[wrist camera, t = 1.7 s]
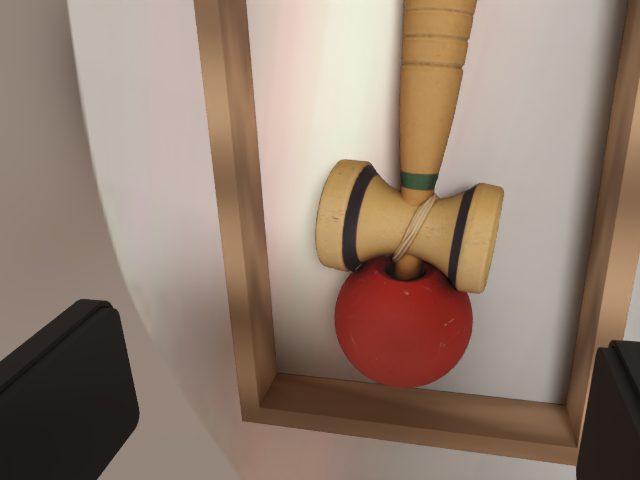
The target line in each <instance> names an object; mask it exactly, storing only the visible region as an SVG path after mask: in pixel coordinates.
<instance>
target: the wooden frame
mask: <svg viewBox="0 0 640 480" xmlns="http://www.w3.org/2000/svg"><path fill="white" fill-rule="evenodd" d="M194 8H195V16H196V25H197V34H198V42H199V51H200V60H201V68H202V77H203V85H204V94H205V103H206V111H207V120H208V129H209V137H210V146H211V154H212V163H213V172H214V180H215V189H216V198H217V206H218V215H219V223H220V232H221V241H222V249H223V258H224V266H225V275H226V284H227V292H228V301H229V310H230V318H231V327H232V335H233V344H234V353H235V361H236V370H237V379H238V387H239V396H240V404H241V413H242V421H246V422H254V423H261V424H269V425H276V426H284V427H291V428H298V429H306V430H313V431H321V432H328V433H336V434H343V435H350V436H358V437H365V438H373V439H380V440H388V441H395V442H403V443H410V444H417V445H425V446H432V447H440V448H447V449H455V450H462V451H469V452H477V453H484V454H492V455H499V456H507V457H514V458H521V459H529V460H536V461H544V462H551V463H559V464H566V465H574V466H577V460H578V454H579V449H580V443H581V437H582V431H583V425H584V420H585V414H586V408H587V402H588V397H589V391H590V385H591V379H592V373H593V368H594V362H595V356H596V352H597V349H598V348H599V347H605V348H608V345H609V343H610V341H612V340H622V341H623V337H624V331H625V326H626V321H627V316H628V310H629V305H630V300H631V294H632V289H633V284H634V279H635V273H636V268H637V263H638V257H639V252H640V0H628V5H627V12H626V18H625V25H624V31H623V38H622V45H621V51H620V58H619V64H618V71H617V77H616V84H615V90H614V97H613V103H612V110H611V117H610V123H609V130H608V136H607V143H606V149H605V156H604V162H603V169H602V175H601V182H600V189H599V195H598V202H597V208H596V215H595V221H594V228H593V234H592V241H591V247H590V254H589V261H588V267H587V274H586V280H585V287H584V293H583V300H582V306H581V313H580V319H579V326H578V333H577V339H576V346H575V352H574V359H573V365H572V372H571V378H570V385H569V391H568V398H567V404H566V405H560V404H551V403H542V402H533V401H524V400H515V399H506V398H497V397H488V396H479V395H470V394H461V393H452V392H443V391H435V390H426V389H417V388H399V387H392V386H387V385H381V384H372V383H363V382H354V381H345V380H336V379H327V378H318V377H309V376H300V375H291V374H282V373H277V367H276V355H275V343H274V331H273V320H272V308H271V296H270V284H269V272H268V260H267V248H266V236H265V224H264V212H263V200H262V188H261V176H260V164H259V152H258V140H257V128H256V117H255V105H254V93H253V81H252V69H251V57H250V45H249V33H248V21H247V9H246V0H194Z"/></svg>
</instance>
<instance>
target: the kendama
mask: <svg viewBox="0 0 640 480" xmlns="http://www.w3.org/2000/svg"><path fill="white" fill-rule="evenodd" d="M476 3H477V0H405V15H404V29H403V35H404V36H405V37H404V39H403V48H402V62H403V63H404V64H403V65H402V68H401V84H400V113H399V120H400V126H399V128H400V167H401V170H400V171H401V192H399V191H398V190H396V189H394V188H393V187H391V186H390V185H389V184H388V183H386V182H385V181H384V180H383V179H382V178H381V177H380V175H379V174H378V173H377V172H376V170H375V169H374V167H373V166H372V164H371V163H369V162H367V161H356V160H347V159H345V160H341V161H339V162H338V163H337V164H336V165H335V167H334V168H333V169H332V171H331V173H330V174H329V176H328V178H327V180H326V183H325V185H324V188H323V191H322V195H321V199H320V202H319V208H318V213H317V219H316V232H315V240H316V250H317V253H318V256H319V259H320V261H321V263H322V264H323V265H324V266H327V267H330V268H335V269H338V270H342V271H353V272H352V273H351V274H350V276H349V277H348V278H347V280H346V281H345V283H344V284H343V286H342V288H341V290H340V292H339V295H338V298H337V302H336V307H335V328H336V334H337V338H338V341H339V344H340V346H341V348H342V350H343V352H344V353H345V355H346V357H347V358H348V359H349V361H350V362H351V363H352V364H353V365H354V366H355V368H357V369H358V370H359V371H360V372H361V373H362V374H364V375H365V376H367V377H368V378H370V379H372V380H373V381H376V382H378V383H381V384H383V385H387V386H392V387H399V388H412V387H418V386H423V385H426V384H429V383H431V382H434V381H436V380H437V379H439V378H441V377H442V376H444V375H445V374H446V373H448V372H449V371H450V370H451V369H452V368H454V366H455V365H456V364H457V363H458V361H459V360H460V359H461V357H462V355H463V354H464V352H465V350H466V348H467V346H468V343H469V340H470V337H471V333H472V323H473V317H472V308H471V303H470V299H469V296H468V294H467V292H470V293H479V294H480V293H481V292H483V291H484V289H485V286H486V282H487V278H488V274H489V270H490V265H491V261H492V256H493V252H494V247H495V242H496V237H497V231H498V226H499V219H500V214H501V208H502V202H503V197H504V190H503V188H501V187H498V186H494V185H490V184H485V183H479V184H477V185H475V186H474V187H472V188H471V189H469V190H467V191H465V192H463V193H461V194H459V195H456V196H453V197H449V198H444V199H439V197H438V196H436V194H435V193H434V188H435V184H436V181H437V179H438V174H439V170H440V167H441V163H442V160H443V156H444V152H445V149H446V146H447V141H448V138H449V134H450V130H451V126H452V122H453V118H454V114H455V109H456V104H457V99H458V95H459V90H460V85H461V80H462V75H463V70H462V66H463V65H464V63H465V58H466V53H467V48H468V42H467V40H468V39H469V37H470V33H471V28H472V23H473V15H474V13H475V8H476Z"/></svg>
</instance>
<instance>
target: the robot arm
mask: <svg viewBox="0 0 640 480" xmlns="http://www.w3.org/2000/svg"><path fill="white" fill-rule="evenodd" d="M138 420H139V407H138V402H137V397H136V392H135V387H134V383H133V377H132V373H131V368H130V363H129V358H128V354H127V349H126V344H125V339H124V334H123V329H122V325H121V320H120V315H119V312H118V311H117V310H116V309H114V308H113V307H112V305H111V304H110V303H109V302H108V301H101V300H89V299H80V300H78V301H76V302H75V303H74V304H73V305H71V306H70V307H69V308H68V309H66V310H65V311H64V312H63V313H61V314H60V315H59V316H57V317H56V318H55V319H54V320H52V321H51V322H50V323H49V324H47V325H46V326H45V327H43V328H42V329H41V330H40V331H38V332H37V333H36V334H35V335H33V336H32V337H31V338H29V339H28V340H27V341H26V342H25V343H23V344H22V345H21V346H19V347H18V348H17V349H16V350H14V351H13V352H12V353H11V354H9V355H8V356H7V357H6V358H4V359H3V360H2V361H0V480H97V479H98V477H99V476H100V475H101V474H102V472H103V471H104V470H105V468H106V467H107V466H108V464H109V463H110V461H111V460H112V459H113V458H114V456H115V455H116V454H117V452H118V451H119V450H120V448H121V447H122V446H123V444H124V443H125V442H126V440H127V439H128V438H129V436H130V435H131V434H132V432H133V431H134V430H135V428H136V426H137V424H138ZM576 478H577V480H640V342H635V341H622V340H612V341H610V343H609V345H608V348H605V347H599V348H598V349H597V352H596V356H595V362H594V368H593V373H592V379H591V385H590V391H589V397H588V402H587V408H586V414H585V420H584V425H583V431H582V437H581V443H580V449H579V454H578V460H577V467H576Z"/></svg>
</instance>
